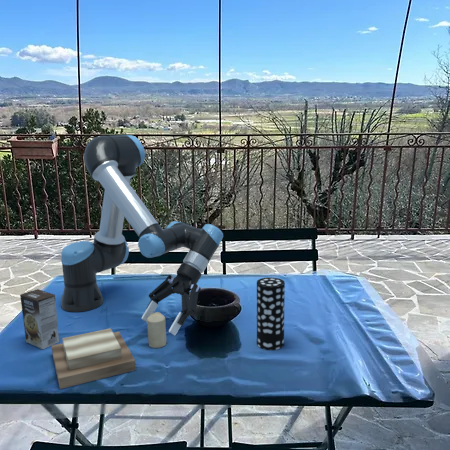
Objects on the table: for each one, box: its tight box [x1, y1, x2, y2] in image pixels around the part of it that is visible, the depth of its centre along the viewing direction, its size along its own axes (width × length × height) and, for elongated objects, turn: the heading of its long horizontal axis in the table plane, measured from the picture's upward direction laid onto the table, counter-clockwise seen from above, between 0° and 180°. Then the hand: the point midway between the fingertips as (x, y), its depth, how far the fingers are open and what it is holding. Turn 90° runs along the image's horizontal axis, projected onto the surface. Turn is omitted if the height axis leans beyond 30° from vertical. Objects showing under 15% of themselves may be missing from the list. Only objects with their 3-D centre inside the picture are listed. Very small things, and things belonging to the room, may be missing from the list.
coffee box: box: [19, 288, 60, 350], centre depth 141 cm, size 9×6×16 cm
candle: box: [146, 311, 167, 349], centre depth 139 cm, size 6×6×10 cm
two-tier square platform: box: [51, 328, 137, 390], centre depth 129 cm, size 20×20×6 cm
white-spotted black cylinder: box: [256, 276, 286, 351], centre depth 136 cm, size 8×8×20 cm
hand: (157, 326), depth 138 cm, fingers open, 13 cm apart
